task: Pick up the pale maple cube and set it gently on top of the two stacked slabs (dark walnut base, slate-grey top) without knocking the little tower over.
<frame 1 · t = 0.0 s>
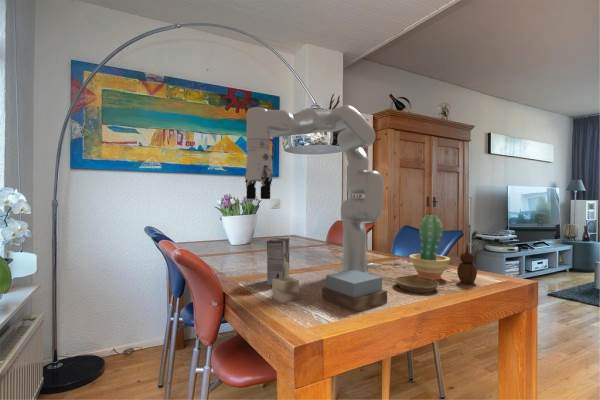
hand: (258, 198, 101), 31 cm above the table, tool pointing down, fingers open, 9 cm apart
wooden figurine: (467, 283, 116), on the table
coffee box: (278, 282, 115), on the table
tower bottom: (353, 302, 95), on the table
potted cactus: (429, 277, 124), on the table
tower top: (353, 289, 95), point 3 cm above the table
maple cube: (285, 298, 97), on the table
plant saucer: (416, 289, 109), on the table
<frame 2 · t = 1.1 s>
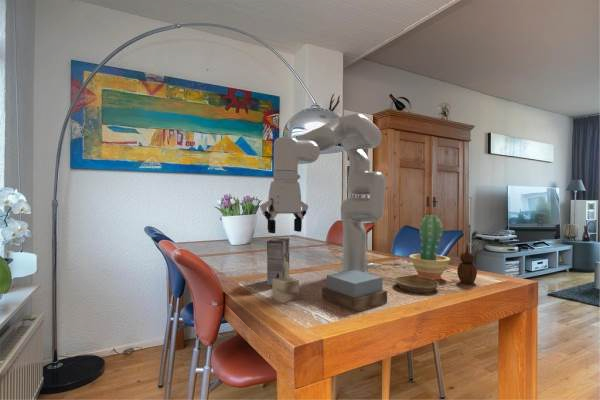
hand: (285, 232, 96), 21 cm above the table, tool pointing down, fingers open, 9 cm apart
tower bottom: (353, 302, 95), on the table, touching tower top
tower top: (354, 289, 95), point 3 cm above the table, touching tower bottom
everything else where it was.
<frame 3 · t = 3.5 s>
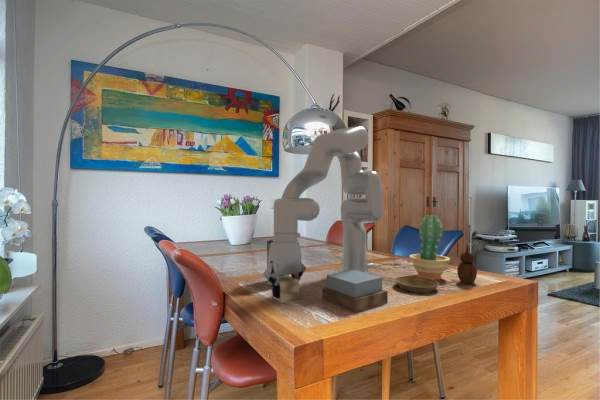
hand: (285, 294, 97), 1 cm above the table, tool pointing down, fingers closed on maple cube, 6 cm apart
tower bottom: (354, 302, 95), on the table
tower top: (354, 288, 95), point 3 cm above the table
maple cube: (285, 298, 97), on the table, touching gripper
everything else where it was.
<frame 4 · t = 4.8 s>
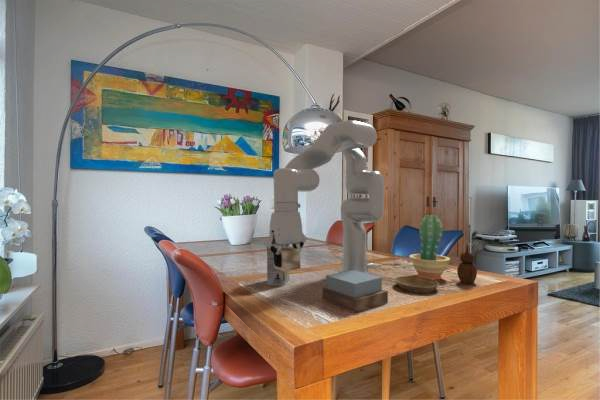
hand: (287, 264, 97), 11 cm above the table, tool pointing down, fingers closed on maple cube, 6 cm apart
tower bottom: (354, 302, 95), on the table, touching tower top
tower top: (353, 289, 95), point 3 cm above the table, touching tower bottom
maple cube: (287, 268, 97), point 9 cm above the table, touching gripper
everything else where it was.
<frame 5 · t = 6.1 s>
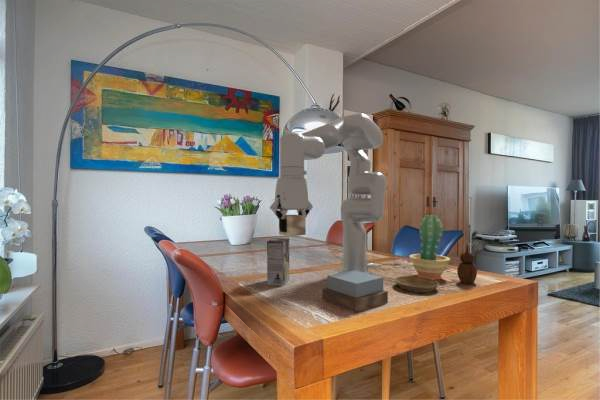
hand: (292, 230, 97), 21 cm above the table, tool pointing down, fingers closed on maple cube, 6 cm apart
maple cube: (292, 234, 97), point 20 cm above the table, touching gripper
everything else where it was.
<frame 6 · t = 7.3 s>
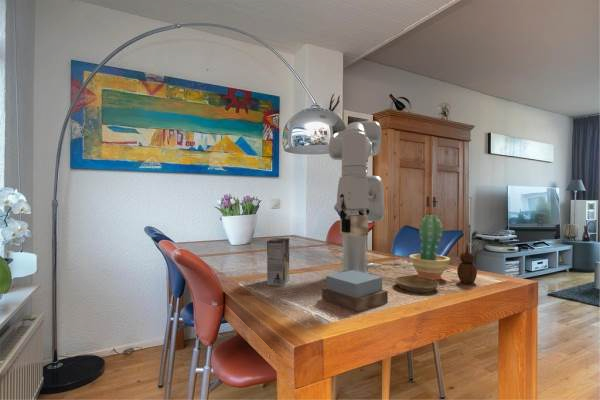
hand: (353, 231, 95), 21 cm above the table, tool pointing down, fingers closed on maple cube, 6 cm apart
maple cube: (353, 234, 95), point 20 cm above the table, touching gripper
everything else where it was.
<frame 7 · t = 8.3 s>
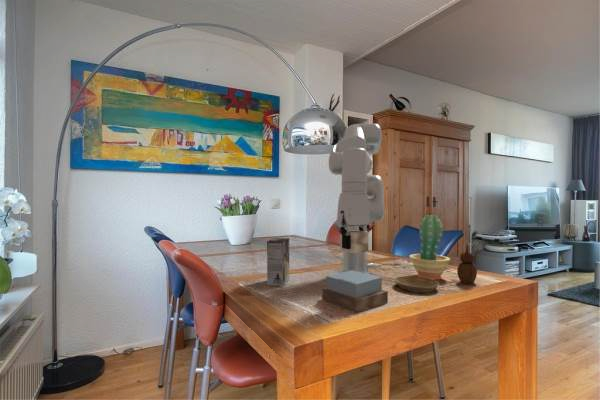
hand: (354, 247, 94), 17 cm above the table, tool pointing down, fingers closed on maple cube, 6 cm apart
maple cube: (354, 250, 94), point 15 cm above the table, touching gripper
everything else where it was.
when the fingers open (10 cm above the table, at t = 9.8 s): maple cube drops 2 cm, resting on tower top.
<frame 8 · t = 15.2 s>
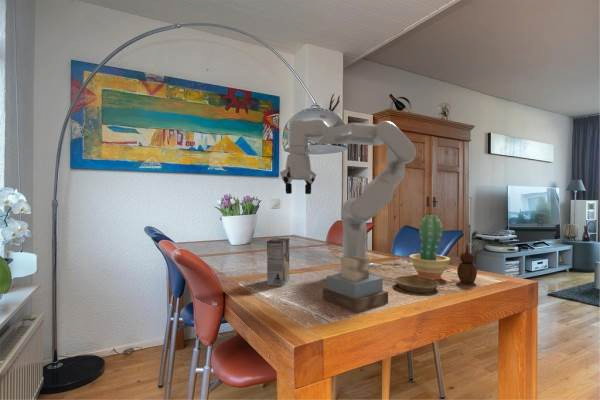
hand: (298, 193, 125), 33 cm above the table, tool pointing down, fingers open, 9 cm apart
tower top: (354, 290, 95), point 3 cm above the table, touching maple cube, tower bottom
maple cube: (354, 277, 94), point 7 cm above the table, touching tower top
everything else where it was.
at the end: maple cube inside the target area on the tower bottom (0.3 cm from its centre), point 8.0 cm above the tower bottom's base; maple cube tilted 0°; tower top moved 0.6 cm from its start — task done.
